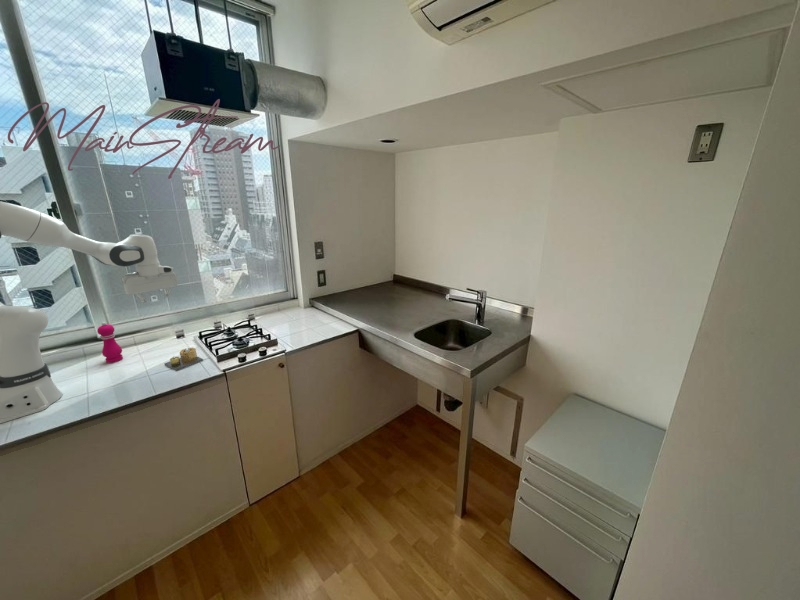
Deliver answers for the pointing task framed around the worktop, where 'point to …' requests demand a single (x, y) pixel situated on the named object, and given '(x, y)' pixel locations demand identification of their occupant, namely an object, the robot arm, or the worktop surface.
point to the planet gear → (188, 355)
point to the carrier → (181, 362)
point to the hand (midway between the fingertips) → (156, 299)
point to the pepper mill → (109, 344)
